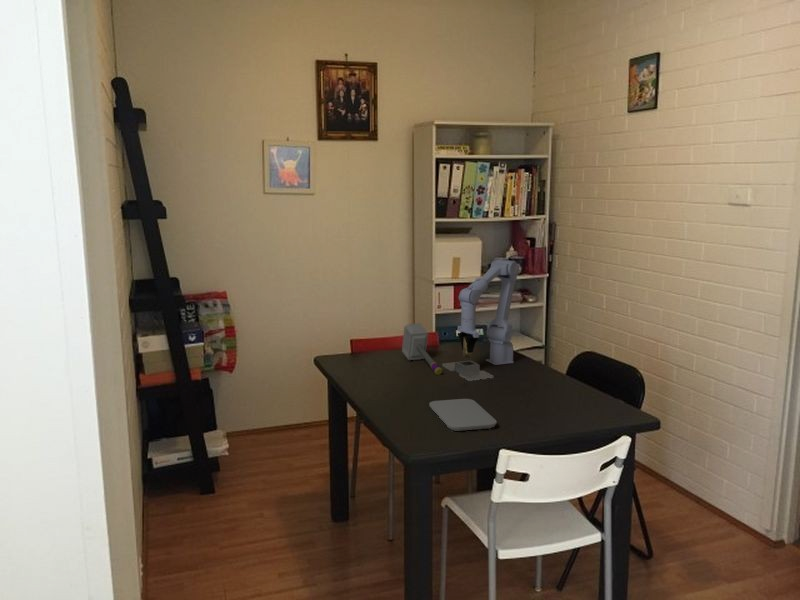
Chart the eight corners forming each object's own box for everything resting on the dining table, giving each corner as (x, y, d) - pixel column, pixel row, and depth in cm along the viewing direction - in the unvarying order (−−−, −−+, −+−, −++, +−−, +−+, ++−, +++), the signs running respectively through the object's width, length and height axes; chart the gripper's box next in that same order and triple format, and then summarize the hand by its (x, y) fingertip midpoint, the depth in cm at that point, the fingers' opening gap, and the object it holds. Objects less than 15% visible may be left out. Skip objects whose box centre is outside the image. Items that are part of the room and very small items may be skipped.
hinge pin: (468, 354, 281) (469, 335, 279) (473, 356, 278) (474, 337, 276) (461, 355, 279) (461, 336, 278) (466, 357, 276) (466, 338, 275)
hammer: (450, 354, 272) (421, 321, 298) (432, 356, 270) (404, 323, 295) (445, 387, 278) (417, 352, 304) (427, 389, 276) (401, 354, 301)
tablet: (471, 404, 241) (471, 398, 240) (499, 430, 216) (499, 423, 216) (427, 407, 237) (427, 401, 237) (450, 434, 212) (450, 427, 212)
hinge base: (465, 363, 292) (465, 355, 292) (493, 378, 271) (493, 369, 270) (442, 365, 288) (442, 357, 287) (468, 381, 267) (469, 372, 266)
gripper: (451, 315, 281) (450, 348, 283) (468, 322, 267) (467, 356, 270) (466, 314, 283) (465, 346, 286) (484, 321, 270) (483, 354, 273)
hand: (467, 351), depth 278 cm, fingers closed on hinge pin, 4 cm apart
